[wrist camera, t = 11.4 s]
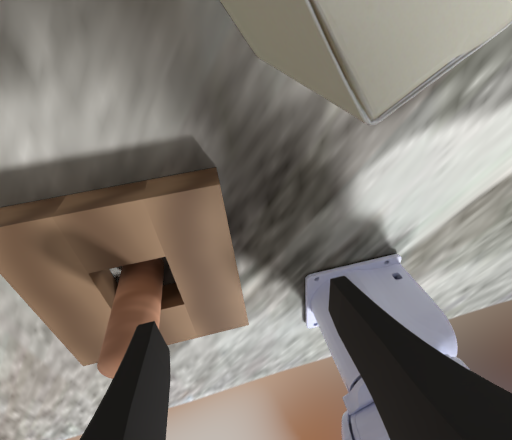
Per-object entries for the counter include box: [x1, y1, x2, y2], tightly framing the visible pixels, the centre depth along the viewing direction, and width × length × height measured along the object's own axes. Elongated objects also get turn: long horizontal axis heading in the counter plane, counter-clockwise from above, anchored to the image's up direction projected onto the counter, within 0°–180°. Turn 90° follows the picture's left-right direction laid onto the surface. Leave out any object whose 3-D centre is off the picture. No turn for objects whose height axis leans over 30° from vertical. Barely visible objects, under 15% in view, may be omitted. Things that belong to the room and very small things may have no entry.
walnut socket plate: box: [0, 167, 249, 366], centre depth 21 cm, size 14×14×2 cm
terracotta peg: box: [97, 258, 164, 379], centre depth 19 cm, size 3×3×8 cm
